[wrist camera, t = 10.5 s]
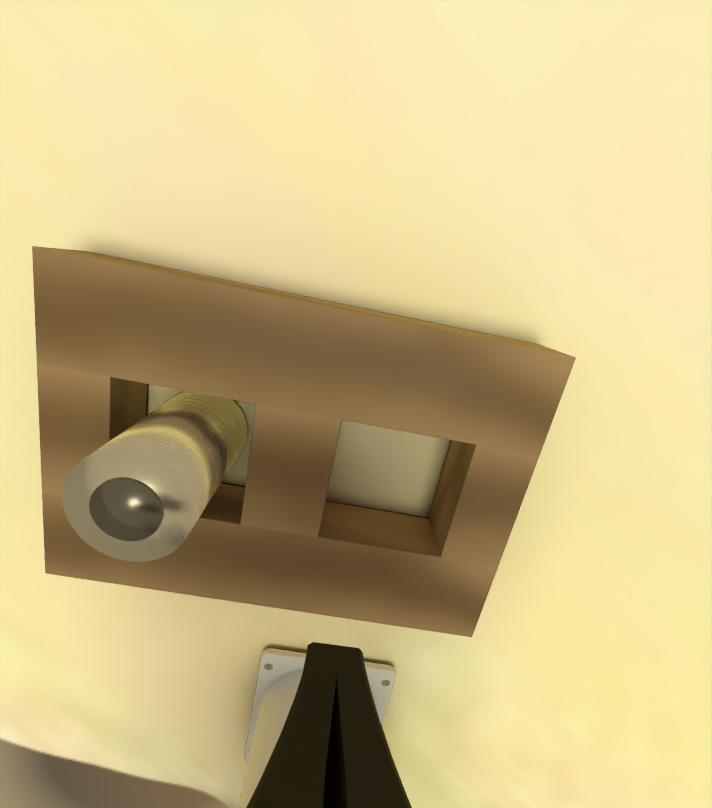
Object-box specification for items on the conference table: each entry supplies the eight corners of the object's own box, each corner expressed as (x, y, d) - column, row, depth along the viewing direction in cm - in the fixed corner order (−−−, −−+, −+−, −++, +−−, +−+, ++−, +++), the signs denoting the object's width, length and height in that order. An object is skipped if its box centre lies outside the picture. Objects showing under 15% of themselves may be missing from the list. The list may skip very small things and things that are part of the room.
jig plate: (456, 590, 22) (471, 637, 19) (87, 532, 21) (45, 573, 18) (540, 344, 18) (575, 357, 15) (86, 251, 17) (32, 246, 14)
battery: (241, 472, 20) (185, 574, 13) (160, 457, 20) (59, 553, 13) (252, 397, 19) (196, 466, 12) (166, 379, 18) (58, 440, 12)
